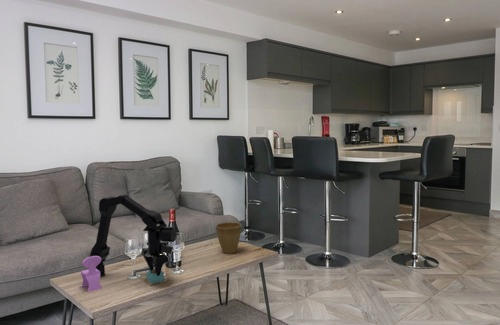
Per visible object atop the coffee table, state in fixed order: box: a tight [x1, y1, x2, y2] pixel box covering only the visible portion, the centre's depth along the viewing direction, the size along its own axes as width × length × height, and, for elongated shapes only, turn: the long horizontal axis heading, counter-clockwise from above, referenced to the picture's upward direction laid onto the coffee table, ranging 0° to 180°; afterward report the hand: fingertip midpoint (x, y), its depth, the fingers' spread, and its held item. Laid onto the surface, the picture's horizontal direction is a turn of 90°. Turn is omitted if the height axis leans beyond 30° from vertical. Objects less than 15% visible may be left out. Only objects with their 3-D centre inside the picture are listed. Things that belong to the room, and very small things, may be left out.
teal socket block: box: [146, 270, 165, 284], centre depth 190 cm, size 6×6×4 cm
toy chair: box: [80, 256, 103, 293], centre depth 184 cm, size 8×9×15 cm
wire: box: [132, 267, 151, 277], centre depth 198 cm, size 9×7×2 cm
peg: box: [143, 269, 168, 287], centre depth 190 cm, size 8×8×6 cm
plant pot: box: [215, 221, 242, 254], centre depth 236 cm, size 15×15×16 cm
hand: (155, 273), depth 190 cm, fingers open, 7 cm apart
